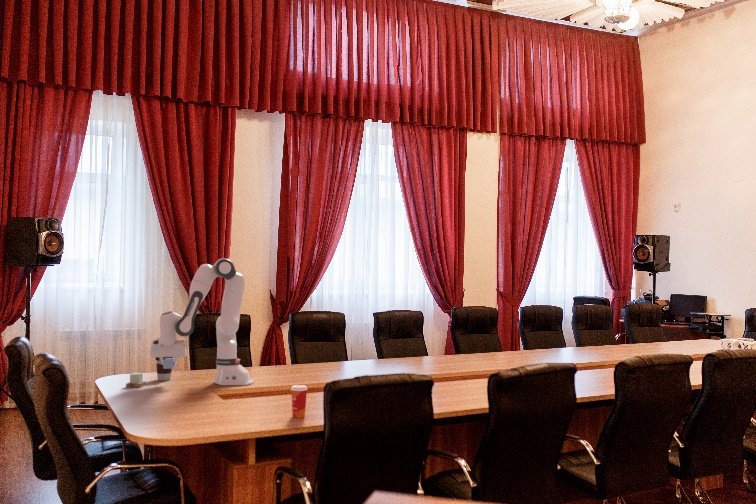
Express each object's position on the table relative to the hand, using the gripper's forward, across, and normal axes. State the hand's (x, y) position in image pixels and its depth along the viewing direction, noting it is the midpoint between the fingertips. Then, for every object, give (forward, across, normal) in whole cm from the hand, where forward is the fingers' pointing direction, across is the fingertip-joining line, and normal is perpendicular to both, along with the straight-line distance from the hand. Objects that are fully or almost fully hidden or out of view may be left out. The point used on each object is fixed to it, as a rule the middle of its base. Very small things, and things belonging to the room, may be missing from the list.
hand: (169, 364), depth 392 cm
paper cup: (+14, -85, +68) cm, 110 cm away
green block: (+8, +16, +7) cm, 20 cm away
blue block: (+2, 0, 0) cm, 2 cm away
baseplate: (+10, +16, +8) cm, 21 cm away
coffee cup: (+11, +8, -14) cm, 20 cm away
